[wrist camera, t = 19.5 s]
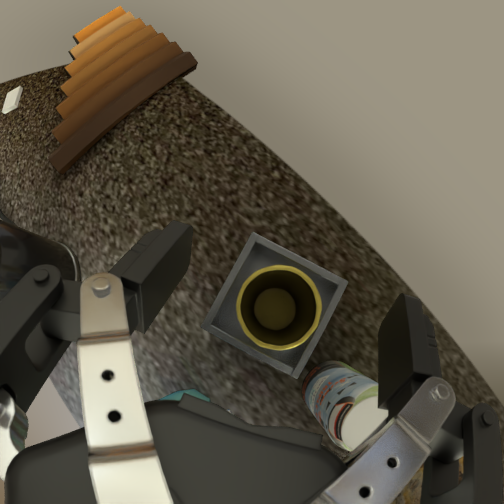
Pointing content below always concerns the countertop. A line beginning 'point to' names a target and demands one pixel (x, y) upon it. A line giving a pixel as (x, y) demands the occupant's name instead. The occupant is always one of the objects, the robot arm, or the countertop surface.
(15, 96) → the eraser
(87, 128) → the pan flute
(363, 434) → the beverage can
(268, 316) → the vase
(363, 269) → the countertop surface
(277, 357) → the gray open box
